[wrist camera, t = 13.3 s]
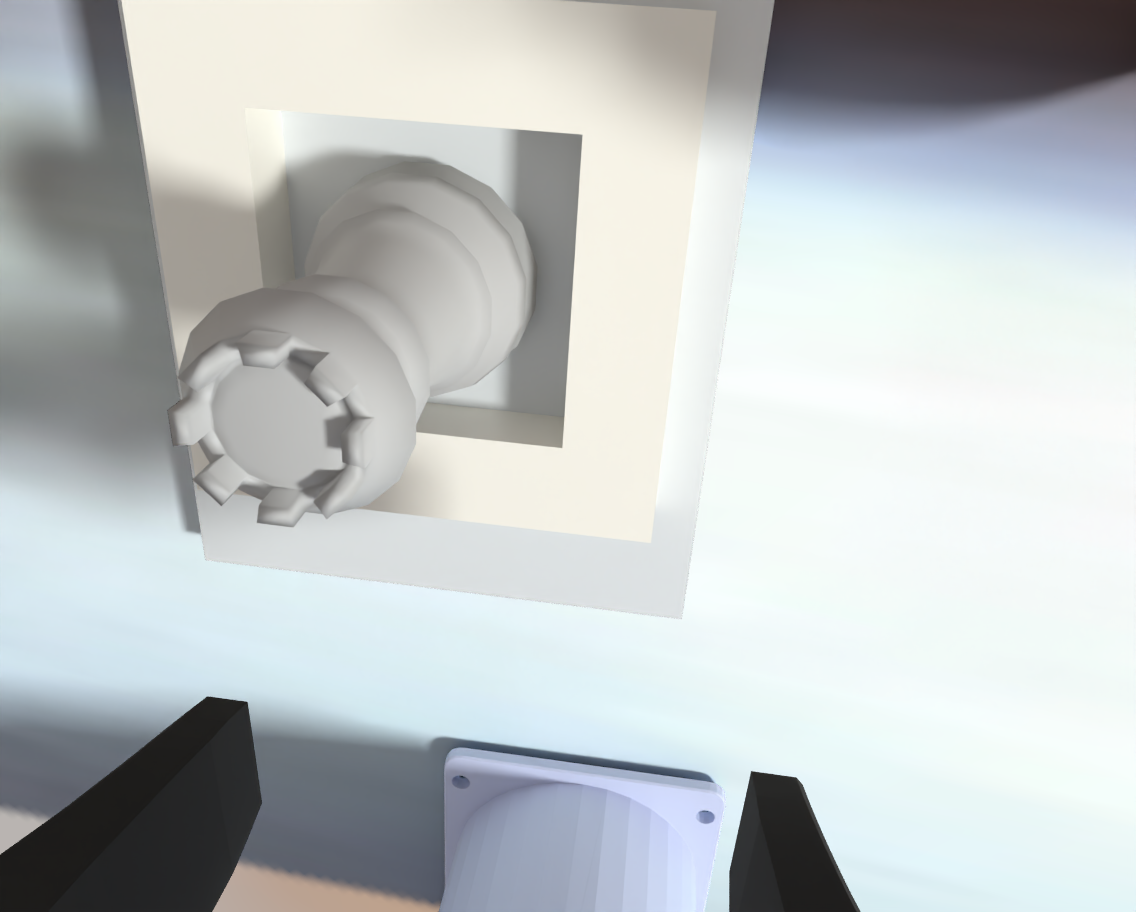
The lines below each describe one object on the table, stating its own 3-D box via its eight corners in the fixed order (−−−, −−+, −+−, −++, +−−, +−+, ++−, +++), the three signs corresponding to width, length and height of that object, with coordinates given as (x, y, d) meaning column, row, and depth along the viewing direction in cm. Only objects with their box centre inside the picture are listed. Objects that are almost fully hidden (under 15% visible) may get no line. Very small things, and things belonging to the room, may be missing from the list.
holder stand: (681, 594, 22) (681, 660, 20) (223, 539, 23) (174, 595, 21) (797, -187, 14) (816, -223, 12) (115, -219, 15) (19, -259, 13)
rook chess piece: (407, 405, 19) (244, 632, 12) (285, 226, 18) (17, 366, 11) (582, 315, 18) (512, 512, 11) (465, 111, 16) (295, 184, 9)
